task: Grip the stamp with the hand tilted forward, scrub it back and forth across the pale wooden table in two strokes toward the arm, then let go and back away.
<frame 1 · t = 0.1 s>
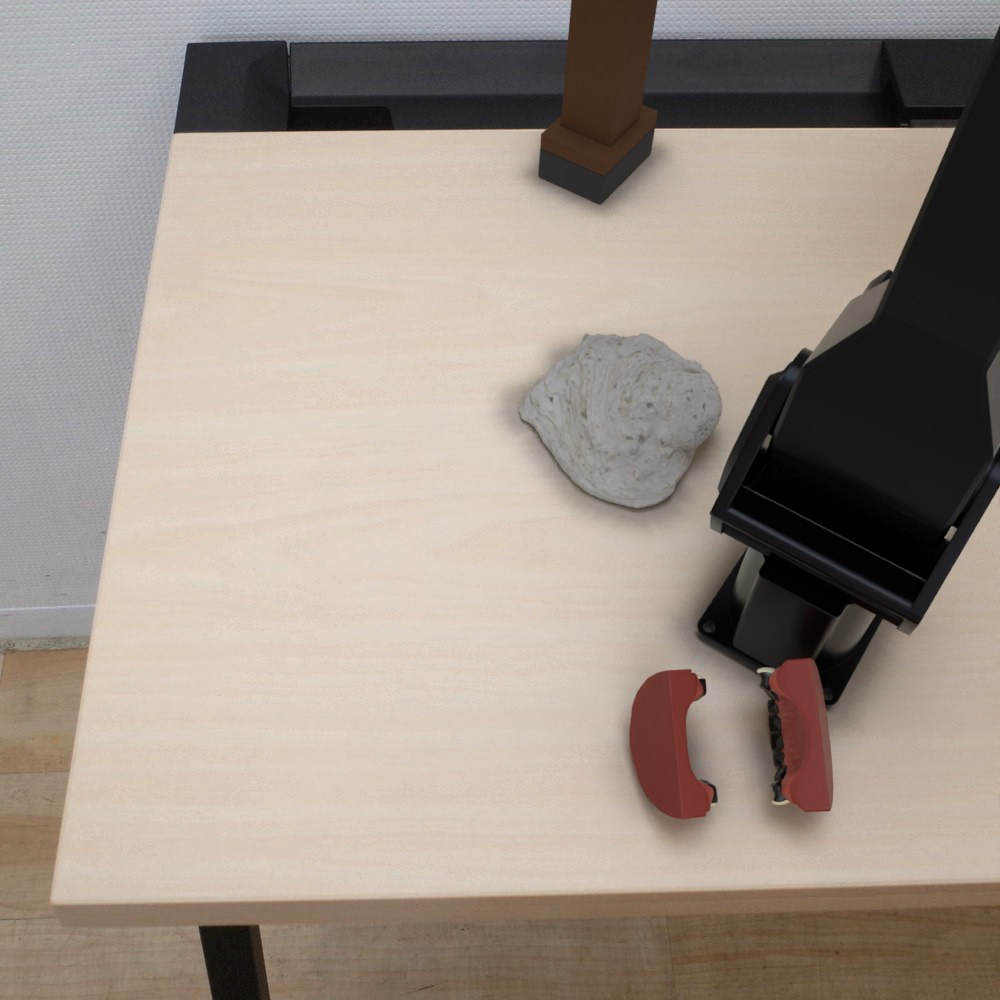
false teeth: (627, 744, 42), point 2 cm above the table
stamp: (595, 165, 66), on the table
stone: (614, 428, 54), on the table
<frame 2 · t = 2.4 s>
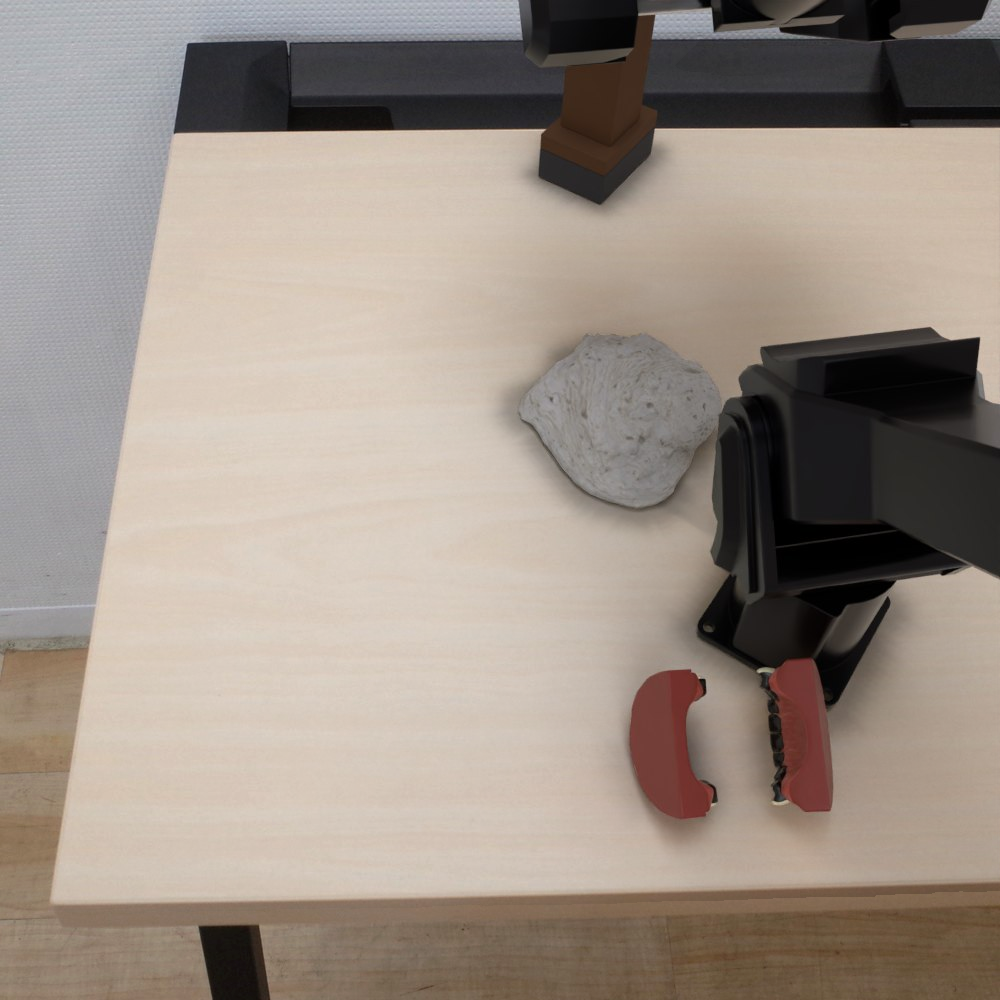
hand: (688, 28, 51), 13 cm above the table, tool tilted 45°, fingers open, 9 cm apart
nothing on the table moved.
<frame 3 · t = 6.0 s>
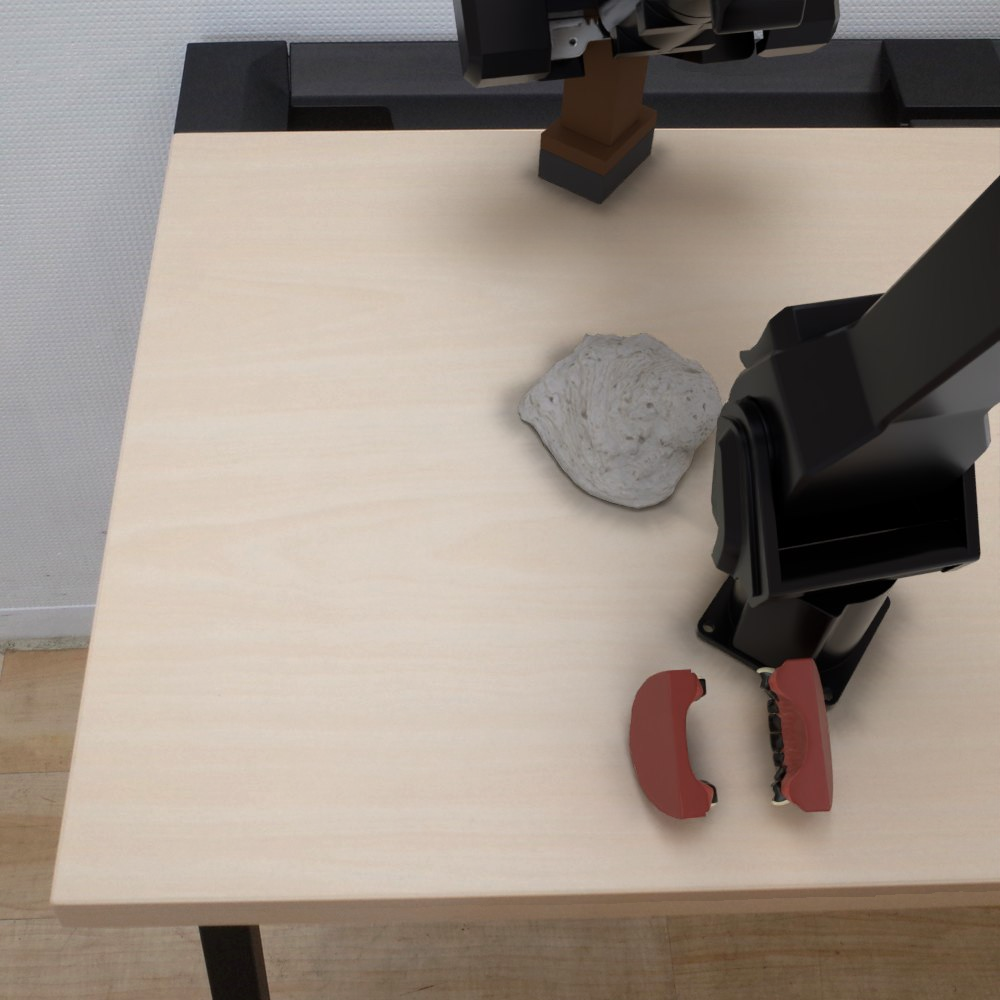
hand: (601, 44, 61), 7 cm above the table, tool tilted 45°, fingers closed on stamp, 5 cm apart
stamp: (595, 165, 66), on the table, touching gripper
everything else where it was.
when the fingers open (7 cm above the table, at t = 9.9 s): stamp stays where it is, on the table.
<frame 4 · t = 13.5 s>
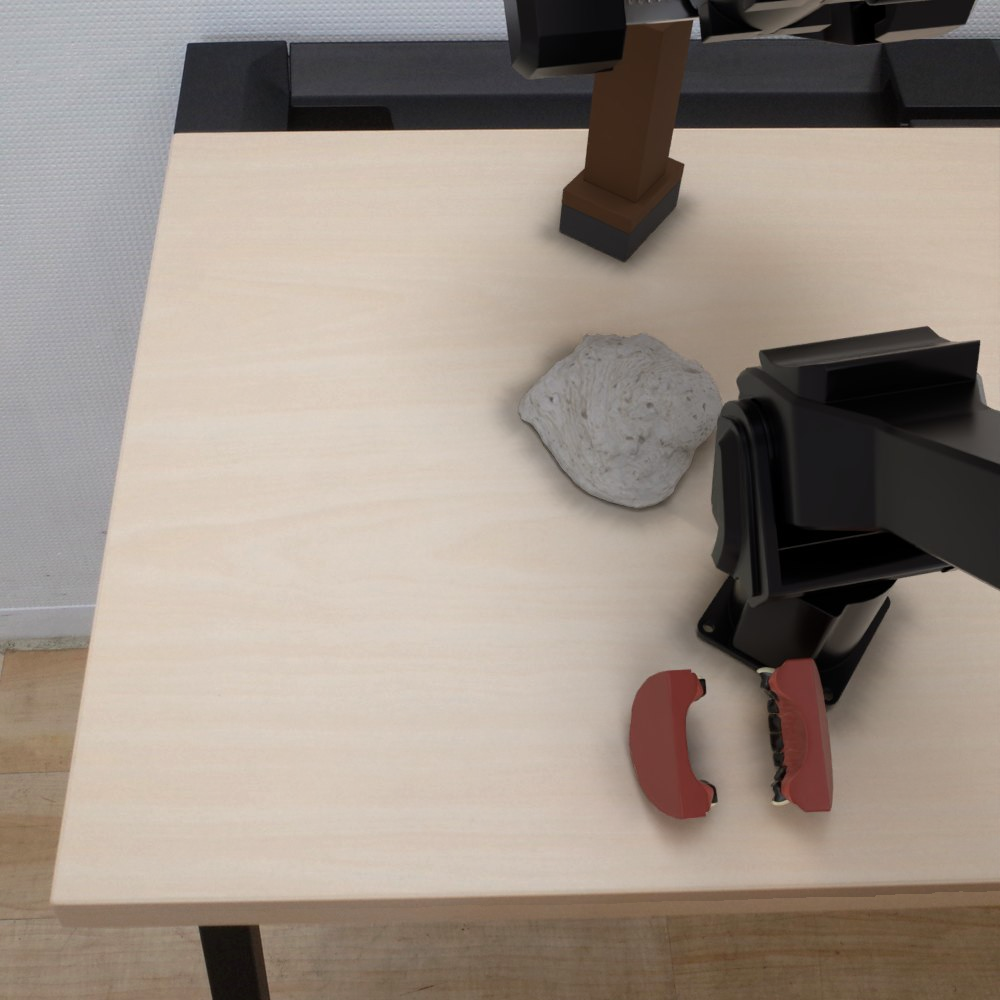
hand: (671, 27, 50), 14 cm above the table, tool tilted 45°, fingers open, 9 cm apart
stamp: (618, 218, 63), on the table
everything else where it was.
at the end: stamp 1.0 cm from the target spot, on the table; stamp tilted 0°; the gripper is holding nothing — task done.
